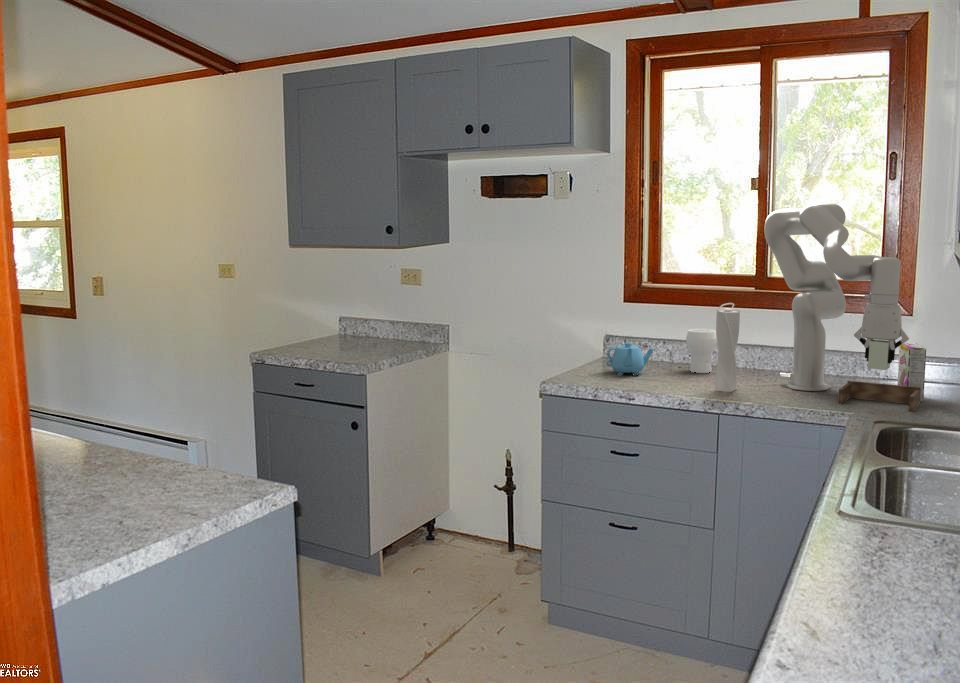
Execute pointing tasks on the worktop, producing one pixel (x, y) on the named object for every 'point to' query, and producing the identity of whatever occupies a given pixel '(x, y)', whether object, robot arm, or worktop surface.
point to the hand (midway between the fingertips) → (879, 361)
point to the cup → (701, 349)
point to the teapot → (628, 359)
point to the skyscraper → (726, 348)
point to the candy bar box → (912, 366)
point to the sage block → (878, 354)
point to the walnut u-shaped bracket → (881, 393)
